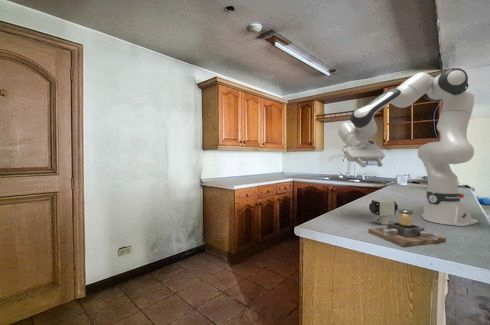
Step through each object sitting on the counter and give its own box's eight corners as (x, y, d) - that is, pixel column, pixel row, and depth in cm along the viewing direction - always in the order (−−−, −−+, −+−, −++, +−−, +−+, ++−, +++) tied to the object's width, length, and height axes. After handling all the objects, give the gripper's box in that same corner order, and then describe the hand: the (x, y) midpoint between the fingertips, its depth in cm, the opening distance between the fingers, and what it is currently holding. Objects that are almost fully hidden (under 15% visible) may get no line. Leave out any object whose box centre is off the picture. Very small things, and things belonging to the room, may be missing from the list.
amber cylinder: (404, 230, 94) (405, 208, 94) (415, 234, 90) (415, 211, 89) (395, 231, 93) (396, 209, 93) (405, 235, 88) (406, 212, 88)
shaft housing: (406, 228, 101) (406, 218, 101) (449, 242, 85) (449, 230, 85) (368, 232, 97) (368, 221, 97) (405, 248, 80) (406, 235, 80)
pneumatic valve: (398, 224, 107) (398, 199, 107) (375, 225, 106) (375, 199, 105) (389, 221, 113) (389, 196, 112) (367, 222, 111) (367, 197, 111)
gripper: (343, 141, 114) (357, 162, 105) (377, 141, 119) (393, 161, 110) (337, 151, 118) (350, 171, 109) (370, 150, 123) (385, 169, 114)
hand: (372, 166), depth 110 cm, fingers open, 8 cm apart
